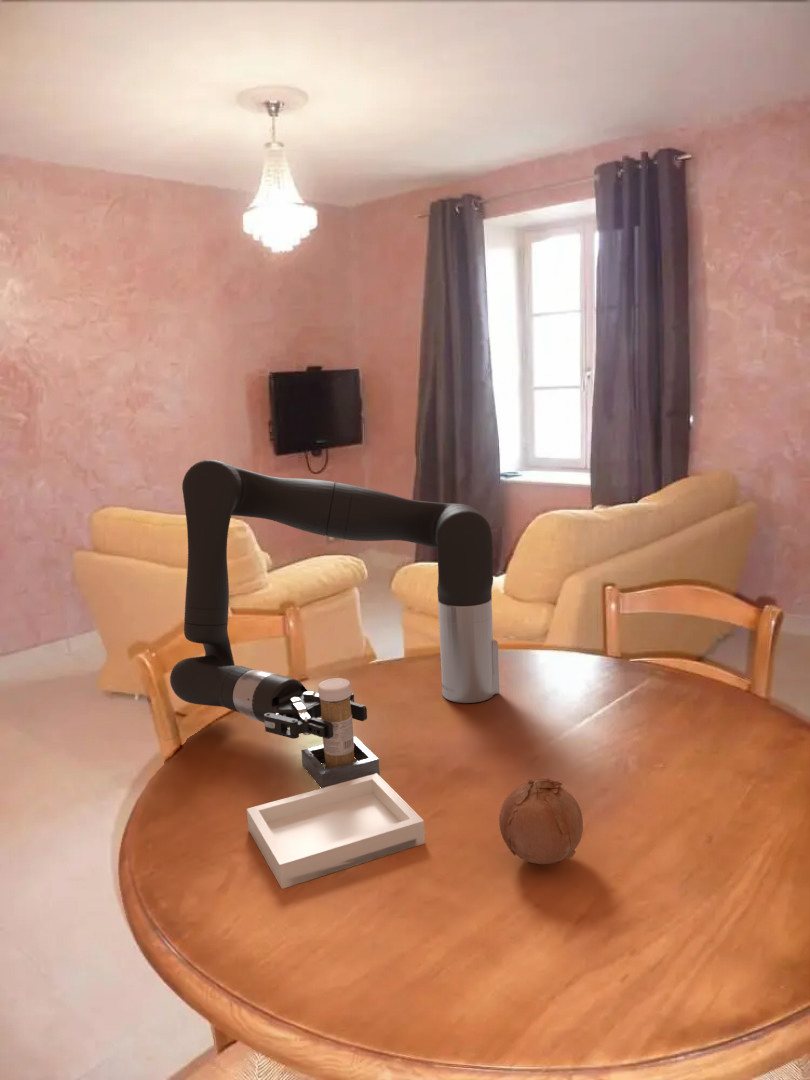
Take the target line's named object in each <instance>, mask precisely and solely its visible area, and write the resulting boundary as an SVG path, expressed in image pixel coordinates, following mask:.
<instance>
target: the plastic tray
mask: <svg viewBox="0 0 810 1080" xmlns="http://www.w3.org/2000/svg"><path fill="white" fill-rule="evenodd" d="M246 817H247V829H248V831H249V834H250V835H251V837H252V838H253V840H254V842H255V844H256V845H257V847H258V849H259V852H260V853H261V854H262V857H263V858H264V860H265V862H266V863H267V866H268V867H269V869H270V871H271V872H272V874H273V876H274V877H275V879H276V881H277V883H278V885H279V886H280V888H281V889H282V890H284V889H286V888H290V887H292V886H296V885H300V884H302V883H305V882H308V881H312V880H315V879H319V878H321V877H324V876H327V875H330V874H334V873H336V872H340V871H342V870H345V869H348V868H353V867H355V866H358V865H359V866H360V865H361V864H365V863H368V862H372V861H374V860H377V859H380V858H383V857H387V856H390V855H393V854H395V853H398V852H402V851H405V850H409V849H411V848H415V847H417V846H421V845H425V844H426V839H425V838H426V836H425V820H424V819H423V818H422V817H421V816H420V815H419V814H418V813H417V812H416V811H415V810H414V809H413V808H412V807H411V806H410V805H409V804H408V803H407V802H406V801H405V800H404V799H403V798H402V797H401V796H400V795H399V794H398V793H397V792H396V790H394V789H393V788H392V787H391V786H390V785H389V783H387V782H386V780H384V779H383V778H382V777H381V776H380V775H378V774H377V773H376V774H372V775H369V776H365V777H361V778H358V779H354V780H350V781H347V782H343V783H339V784H336V785H332V786H328V787H325V788H318V789H315V790H311V791H307V792H303V793H299V794H296V795H292V796H289V797H285V798H280V799H277V800H274V801H271V802H266V803H262V804H258V805H255V806H253V807H247V808H246Z"/></svg>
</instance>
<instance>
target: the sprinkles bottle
mask: <svg viewBox="0 0 810 1080" xmlns="http://www.w3.org/2000/svg"><path fill="white" fill-rule="evenodd" d="M317 687H318V688H317V689H318V690H317V692H318V693H319V698H320V701H321V716H322V717H321V718H320V719H321V720H324V721H327V722H330V723H331V724H332V725H333V737H331V738H330V739H326V738H323V737H322V742H323V743H322V745H323V747H324V752H325V764H324V765H325V767H324V768H325V769H329V768H333V767H337V766H340V765H344V764H348V763H352V762H356V759H355V758H354V737H355V735H354V723H353V718H352V714H351V704H350V697H351V696H350V695H351V692H352V688H351V687H352V686H351V683H350V681H349V680H348V679H346V678H341V677H335V678H333V677H332V678H328V679H324V680H323V681H321V682H319V684H318V686H317Z"/></svg>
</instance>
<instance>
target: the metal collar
mask: <svg viewBox="0 0 810 1080" xmlns="http://www.w3.org/2000/svg"><path fill="white" fill-rule="evenodd" d="M300 751H301V761H302V767H303V769H304V770H305V769H306V770H307V771H308V772H307V771H306V770H305V771H306V772H307V773H308V774H309V776H310V775H311V776H310V777H311V778H312V780H313V781H314V780H315V781H316V782H315V781H314V782H315V783H316V784H317V785H319V786H320V787H321V788H325V787H328V786H332V785H336V784H339V783H343V782H347V781H350V780H354V779H358V778H361V777H365V776H369V775H372V774H376V773H377V774H378V775H379V776H380V762H379V761H380V759H379V757H377V755H375V754H374V753H373V752H372V751H371V750H370V749H369V748H368V747H367V746H366V745H365V744H364V743H363V742H362V741H361V740H360V739H359V738H358V737H357V736H354V757H355V758H356V759H357V760H358V761H357V760H356V759H355V758H354V759H355V762H352V763H348V764H344V765H340V766H337V767H333V768H329V769H325V767H324V765H323V764H321V763H325V752H324V747H323V744H320V745H317V746H312V747H309V748H308V747H307V748H305V749H301V750H300ZM319 786H318V787H319ZM320 787H319V788H320ZM321 788H320V789H321Z"/></svg>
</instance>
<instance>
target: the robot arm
mask: <svg viewBox="0 0 810 1080" xmlns="http://www.w3.org/2000/svg"><path fill="white" fill-rule="evenodd" d="M181 485H182V487H181V488H182V489H181V490H182V495H183V503H184V510H185V512H184V513H185V519H186V520H185V521H186V529H187V571H186V586H185V601H184V603H185V604H184V617H183V618H184V619H183V620H184V622H183V623H184V624H183V633H184V637H185V639H186V640H187V641H189V642H191V643H195V644H202V646H203V648H204V655H201V656H194V657H193V656H192V657H188V658H184V659H182V660H180V661H178V662H177V663H176V664H175V665H174V666H173V667H172V670H171V672H170V676H169V681H170V683H169V684H170V688H171V689H172V691H173V692H174V694H175V695H176V696H177V697H178V698H179V699H180V700H182V701H184V702H186V703H189V704H194V705H200V706H201V705H202V706H208V707H209V706H210V707H220V708H226V709H228V710H231V711H234V712H236V713H239V714H242V715H244V716H246V717H247V718H249V719H252V720H255V721H257V722H260V723H264V731H265V732H266V733H269V734H274V735H278V736H281V737H285V738H288V739H298V738H299V737H300V734H302V735H304V736H309V735H313V736H317V737H318V738H322V739H323V738H326V739H330V738H331V737H333V725H332V724H331V723H330V722H327V721H324V720H321V717H322V716H321V701H320V698H319V693H318V691H309V690H308V689H306V687H305V686H304V684H303V683H302V682H301V681H300V680H298V679H295V678H292V677H289V676H284V675H282V674H277V673H274V672H272V671H271V672H270V671H266V670H257V669H253V668H250V667H246V666H243V665H235V661H234V656H233V651H232V647H231V642H230V638H229V637H230V636H229V633H228V624H229V623H228V622H229V607H230V606H229V604H230V601H229V600H230V591H229V590H230V589H229V587H230V586H229V585H230V584H229V571H228V570H229V569H228V554H227V553H228V537H229V528H230V523H231V518H232V516H233V517H235V516H236V517H249V518H256V519H265V520H268V521H272V522H277V523H279V524H282V525H285V526H289V527H290V528H293V529H297V530H300V531H304V532H307V533H310V534H315V535H319V536H324V537H329V538H334V539H340V540H347V541H356V542H380V541H381V542H382V541H401V542H408V543H412V544H418V545H421V546H422V545H423V546H425V547H430V548H433V549H437V550H436V551H437V555H436V556H437V572H438V573H437V574H438V575H437V577H438V579H437V586H436V589H437V603H438V604H437V605H438V609H437V610H438V626H439V627H438V629H439V649H440V652H439V653H440V666H441V667H440V670H441V694H442V696H443V698H444V699H446V700H448V701H451V702H454V703H461V704H470V703H471V704H472V703H473V704H474V703H480V702H485V701H486V700H489V699H491V698H493V696H494V695H497V694H500V670H499V669H500V668H499V667H500V666H499V665H500V663H499V659H500V658H499V641H498V640H497V639H494V626H493V602H492V601H493V598H492V597H493V596H492V593H493V592H492V589H493V584H494V550H493V549H494V546H493V545H494V544H493V533H492V528H491V526H490V524H489V522H488V520H487V519H486V517H485V516H483V515H482V513H481V512H480V511H479V510H478V509H476V507H473V506H471V505H468V504H463V503H451V502H450V503H449V502H447V503H446V502H436V501H435V502H434V501H426V500H425V501H423V500H417V499H416V500H415V499H409V498H405V497H401V496H397V495H395V494H391V493H388V492H383V491H379V490H375V489H371V488H366V487H362V486H358V485H353V484H348V483H342V482H336V481H330V480H322V479H311V478H310V479H309V478H292V477H291V478H289V477H287V478H286V477H276V476H271V475H270V476H269V475H267V474H266V475H265V474H262V473H258V472H255V471H252V470H247V469H245V468H240V467H239V466H234V465H233V464H232V465H231V464H229V463H227V462H224V461H221V460H216V459H204V460H200V461H198V462H196V463H195V464H193V465H191V466H190V468H189V469H188V470H187V471H186V472H185V475H184V477H183V480H182V484H181ZM350 696H351V697H350V704H351V714H352V720H357V721H360V722H365V721H366V720H368V711H367V710H368V709H367V706H366V705H365V704H361V703H359V702H358V703H357V702H355V692H352V691H351V695H350ZM288 728H289V729H288Z"/></svg>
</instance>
